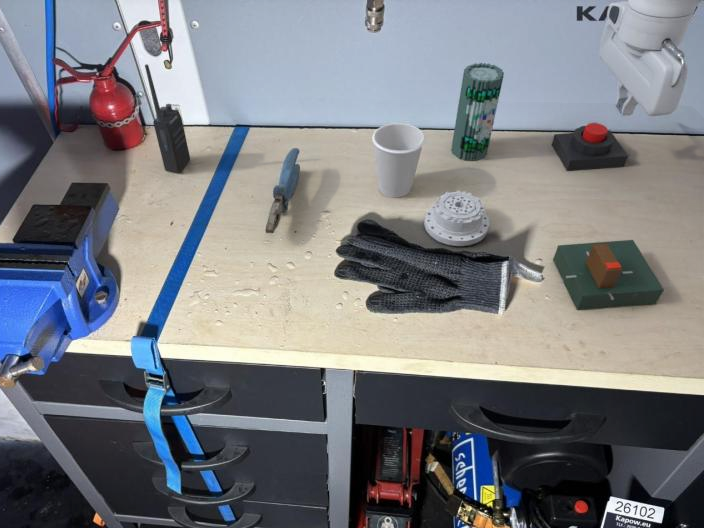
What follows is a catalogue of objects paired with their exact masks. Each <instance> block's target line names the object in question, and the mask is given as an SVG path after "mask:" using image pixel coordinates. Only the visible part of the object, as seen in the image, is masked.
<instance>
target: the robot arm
mask: <svg viewBox="0 0 704 528" xmlns="http://www.w3.org/2000/svg"><path fill="white" fill-rule="evenodd" d="M703 1H704V0H624V1H616V2H612V3H610V4H609V5H608V8H607V12H606V16H607V21H605V25H604V28H603V32H602V35H601V38H600V43H599V47H598V50H599V51H598V53H599V54H598V55H599V58H600V60H601V61H602V62H603V63H604V65H605V66H606V67H607V68H608V70H609V71H610V72H611V73H612V74H613V75H614V76H615V78H616V79H617V83H616V100H615V102H614V106H615V108H616V109H617V110H618V111H619V113H620V114H621V115H622V116H623V117H625V116H631V115H633V114H634V112H635V109H636V106H638V105H639V106H640V107H641V108H642V110H643V111H644V112H645V113H646V114H647V116H649V117H658V116H667V115H668V116H669V115H670V114H672V113H674V112H675V111H676V110H677V108H678V106H679V102H680V100H681V98H682V95H683V92H684V88H685V84H686V81H687V77H688V64H687V62H686V61H685V56H686V55H685V53H684V51H683V50H681V49H679V48H678V47H679V46H680V45H681V44H682V43H683V41H684V38H685V36H686V33H687V32H688V28H689V26H690V24H691V21H692V19H693V17H694V14H695V12H696V9H697V6H698V5H699V4H700V3H701V2H703Z"/></svg>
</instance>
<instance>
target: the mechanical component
mask: <svg viewBox="0 0 704 528" xmlns="http://www.w3.org/2000/svg"><path fill="white" fill-rule="evenodd" d="M423 223H424V225H423V226H424V228H425V232H427V233H428V235H429V236H430V237H431V238H433V239H434V240H436V241H437V242H438V243H441V244H444V245H447V246H452V247H465V246H471V245H474V244H477V243H479V242H481V241H482V240H483V239H484V238H485V237H487V234H488V232H489V229H490V218H489V215H488V213H487V212H486V211H485V205H484V203H483V202H482V199H481V197H480V198H479V197H476V196H475V195H473V194H472V192H467V191H465V190H462V191H461V190H458V189H457V190H456V191H453V192H450V191H446V192H445V193H444V194H442V195H440V196H437V198H436V200H435V201H434V203H433V204H432V205H430V207H429V208H428V209H427V210H426V212H425V216H424V221H423Z"/></svg>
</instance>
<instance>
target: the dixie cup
mask: <svg viewBox="0 0 704 528" xmlns="http://www.w3.org/2000/svg"><path fill="white" fill-rule="evenodd" d="M371 139H372V143H373V146H374V147H373V148H374V157H375V167H376V178H377V180H376V181H377V189H378V191H379V193H380V194H382V195H383V196H385V197H388V198H390V199H391V198H392V199H397V198H398V199H399V198H403V197H406V196H407V195H409V194H410V192H411V191H412V187H413V183H414V180H415V176H416V172H417V169H418V164H419V161H420V157H421V153H422V149H423V146H424V145H425V142H426V136H425V133H424V132H423V131H422V130H421V129H420V128H418V127H417V126H415V125H412V124H409V123H404V122H392V123H388V124H387V123H386V124H384V125H382V126H379V127H378V128H376V129H375V131H374V132H373V134H372V138H371Z"/></svg>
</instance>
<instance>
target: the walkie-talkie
mask: <svg viewBox="0 0 704 528" xmlns="http://www.w3.org/2000/svg"><path fill="white" fill-rule="evenodd" d="M144 68H145V73H146V77H147V81H148V85H149V90H150V94H151V99H152V102H153V107H154V111H155V116H156V117H155V119H154V120H153V122H152V123H153V124H152V125H153V128H154V132H155V135H156V140H157V144H158V147H159V152H160V155H161V160H162V164H163V168H164V171H168V172H172V173H177V174H180V173H181V172H182V171H183V170H184V169H185V167H187V165H188V164H189V163H190V162H191V155H190V151H189V150H190V149H189V146H188V142H187V137H186V132H185V127H184V121H183V118H182V115H181V113H180V111H179V110H178V109H173V108H172V104H171V103H166V104H165V106H160V103H159V100H158V96H157V92H156V89H155V85H154V81H153V77H152V73H151V70H150V67H149V64H148V63H147V64H144Z"/></svg>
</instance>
